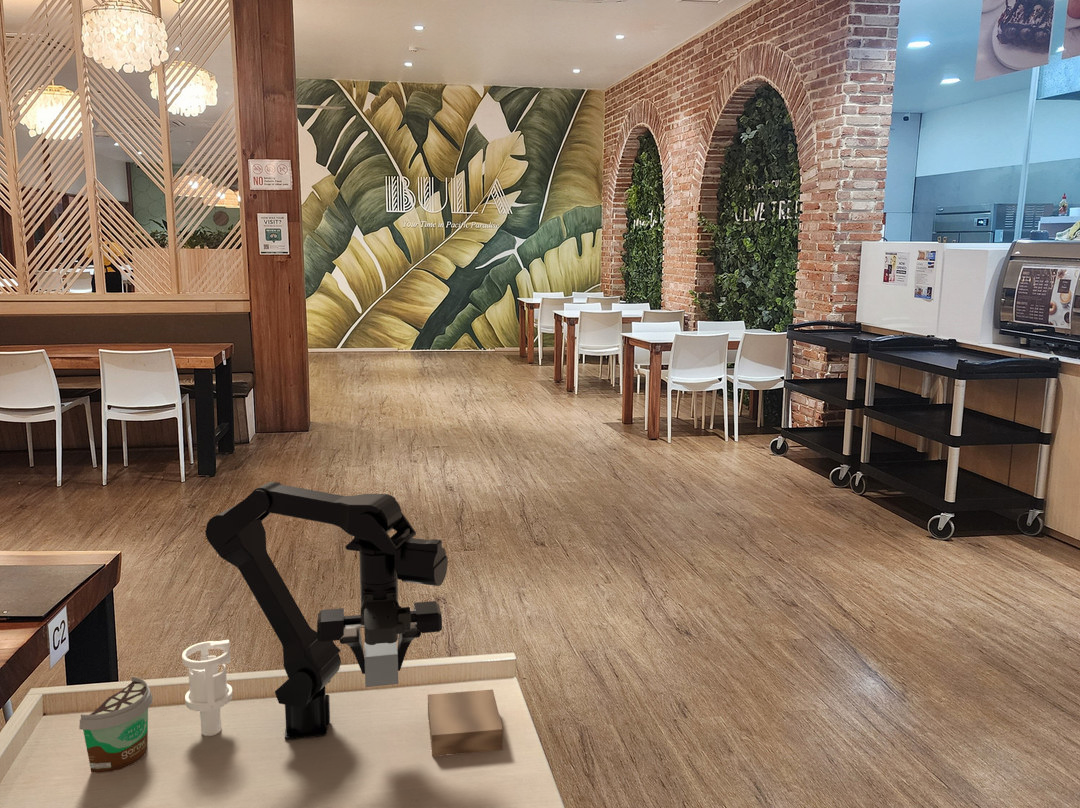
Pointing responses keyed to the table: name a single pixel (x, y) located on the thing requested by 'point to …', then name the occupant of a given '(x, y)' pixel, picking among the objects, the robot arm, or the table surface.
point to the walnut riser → (464, 722)
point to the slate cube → (381, 664)
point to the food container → (118, 728)
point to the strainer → (208, 684)
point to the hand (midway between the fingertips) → (381, 671)
